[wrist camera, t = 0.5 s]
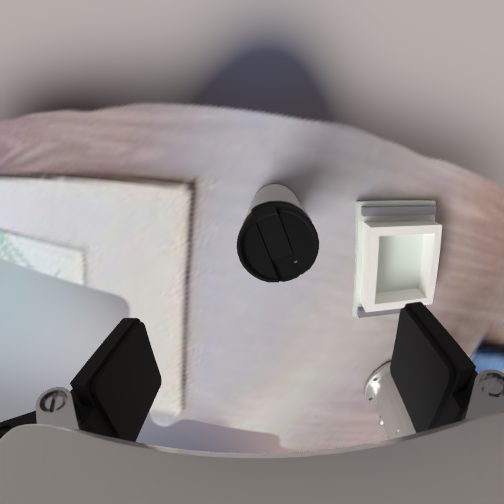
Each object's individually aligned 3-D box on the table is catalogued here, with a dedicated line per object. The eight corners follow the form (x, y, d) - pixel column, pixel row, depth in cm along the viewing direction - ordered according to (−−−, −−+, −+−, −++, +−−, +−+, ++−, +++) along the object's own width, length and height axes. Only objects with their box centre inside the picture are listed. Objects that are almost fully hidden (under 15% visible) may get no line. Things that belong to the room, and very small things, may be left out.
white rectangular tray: (421, 306, 44) (433, 318, 39) (352, 314, 45) (359, 329, 40) (432, 200, 38) (447, 205, 34) (355, 201, 39) (365, 206, 35)
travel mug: (288, 174, 39) (304, 189, 20) (303, 219, 41) (331, 273, 22) (244, 190, 40) (220, 220, 21) (261, 234, 42) (253, 299, 23)
